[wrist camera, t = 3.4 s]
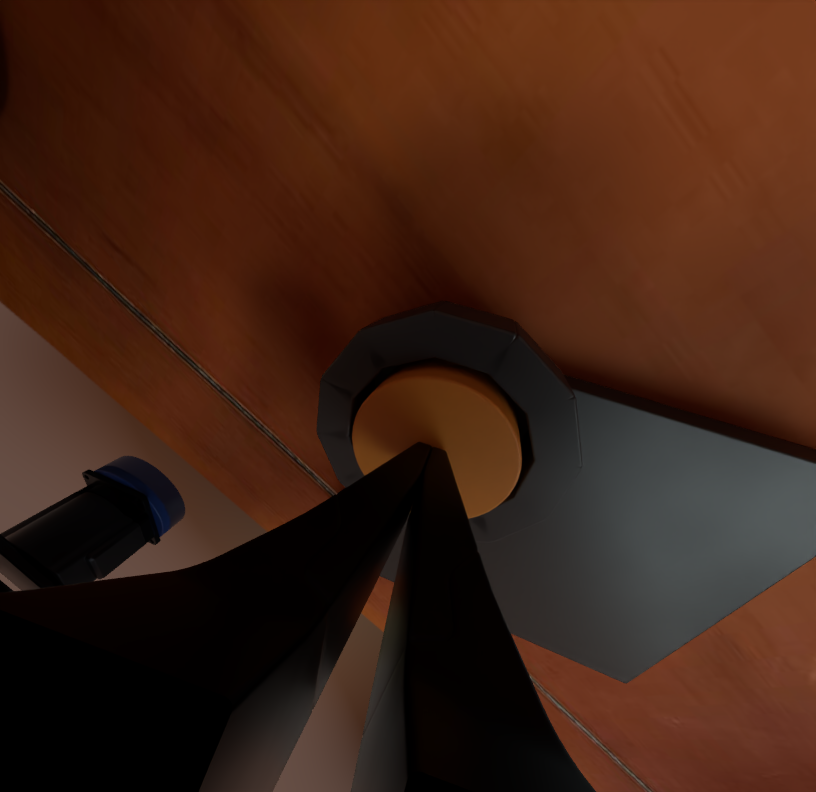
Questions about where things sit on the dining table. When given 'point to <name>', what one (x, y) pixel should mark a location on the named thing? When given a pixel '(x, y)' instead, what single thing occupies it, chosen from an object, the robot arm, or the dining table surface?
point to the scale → (598, 496)
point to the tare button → (445, 427)
